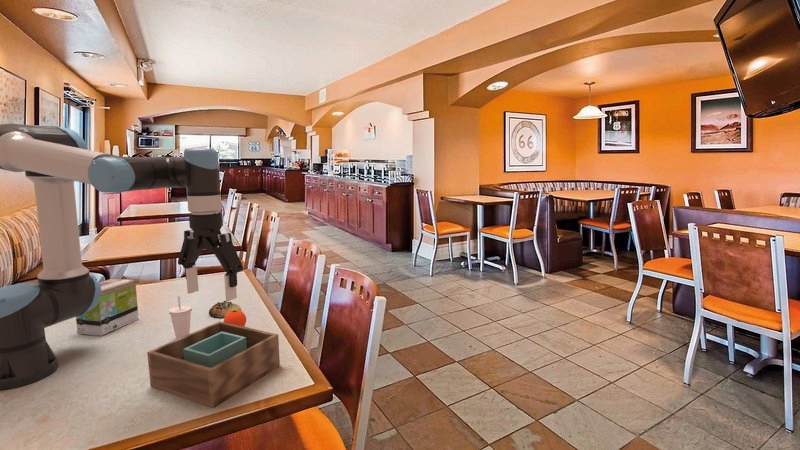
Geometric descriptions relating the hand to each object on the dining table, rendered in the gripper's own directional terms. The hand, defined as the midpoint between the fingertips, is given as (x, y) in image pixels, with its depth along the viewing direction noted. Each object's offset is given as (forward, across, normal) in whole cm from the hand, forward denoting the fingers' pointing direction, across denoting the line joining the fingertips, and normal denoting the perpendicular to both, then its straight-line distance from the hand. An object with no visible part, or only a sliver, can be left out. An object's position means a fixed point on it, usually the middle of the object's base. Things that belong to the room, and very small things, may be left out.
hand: (211, 295), depth 108 cm
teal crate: (+21, 0, 0) cm, 21 cm away
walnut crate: (+22, 0, 0) cm, 22 cm away
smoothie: (+22, +29, -12) cm, 38 cm away
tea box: (+22, +60, -8) cm, 64 cm away
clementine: (+22, +19, -24) cm, 38 cm away
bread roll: (+22, +34, -34) cm, 53 cm away
